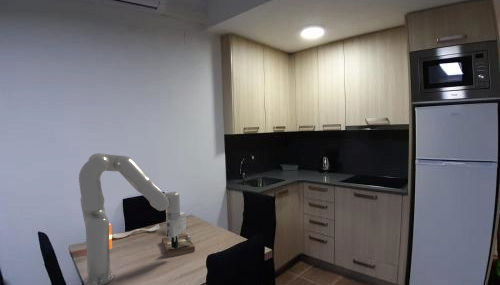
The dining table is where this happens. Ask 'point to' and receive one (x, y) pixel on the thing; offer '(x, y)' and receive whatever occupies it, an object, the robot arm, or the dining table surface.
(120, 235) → the cream wavy strip
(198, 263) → the dining table surface
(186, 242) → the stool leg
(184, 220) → the supplement box
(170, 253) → the wooden tray
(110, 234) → the orange juice
